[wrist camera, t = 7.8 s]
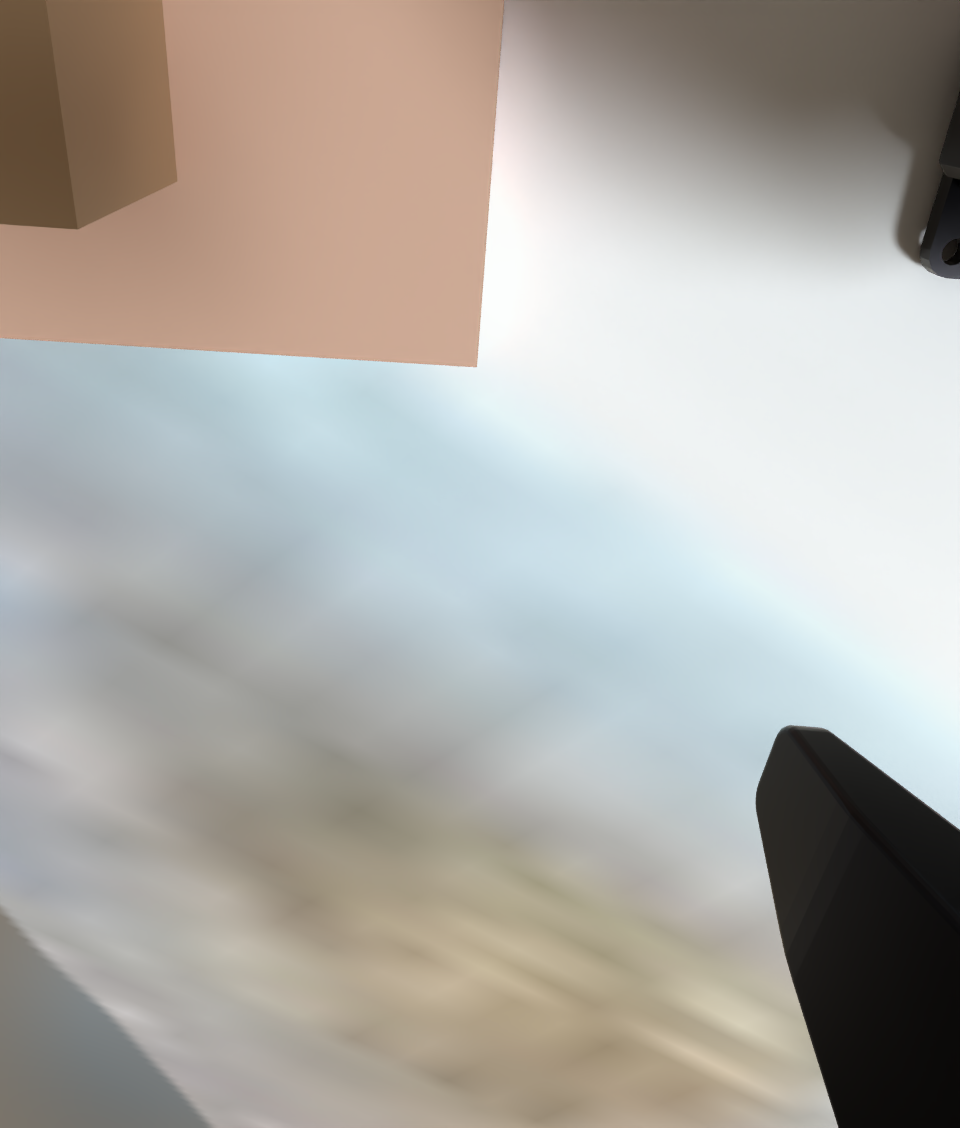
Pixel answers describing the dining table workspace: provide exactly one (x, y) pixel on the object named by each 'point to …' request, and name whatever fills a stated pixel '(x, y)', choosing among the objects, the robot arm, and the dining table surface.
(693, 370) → the dining table surface
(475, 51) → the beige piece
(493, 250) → the dining table surface
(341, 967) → the dining table surface
